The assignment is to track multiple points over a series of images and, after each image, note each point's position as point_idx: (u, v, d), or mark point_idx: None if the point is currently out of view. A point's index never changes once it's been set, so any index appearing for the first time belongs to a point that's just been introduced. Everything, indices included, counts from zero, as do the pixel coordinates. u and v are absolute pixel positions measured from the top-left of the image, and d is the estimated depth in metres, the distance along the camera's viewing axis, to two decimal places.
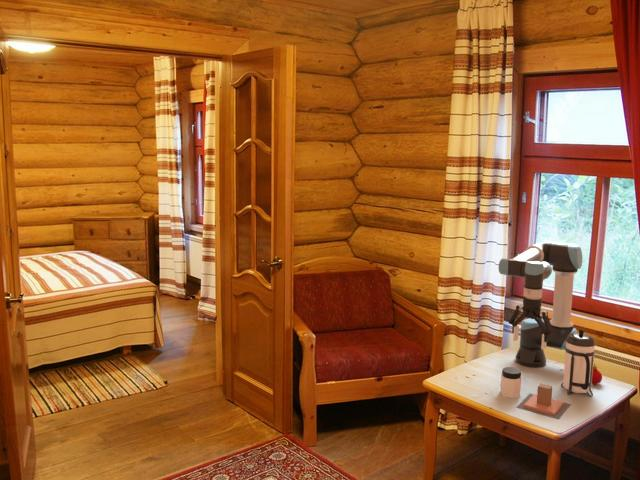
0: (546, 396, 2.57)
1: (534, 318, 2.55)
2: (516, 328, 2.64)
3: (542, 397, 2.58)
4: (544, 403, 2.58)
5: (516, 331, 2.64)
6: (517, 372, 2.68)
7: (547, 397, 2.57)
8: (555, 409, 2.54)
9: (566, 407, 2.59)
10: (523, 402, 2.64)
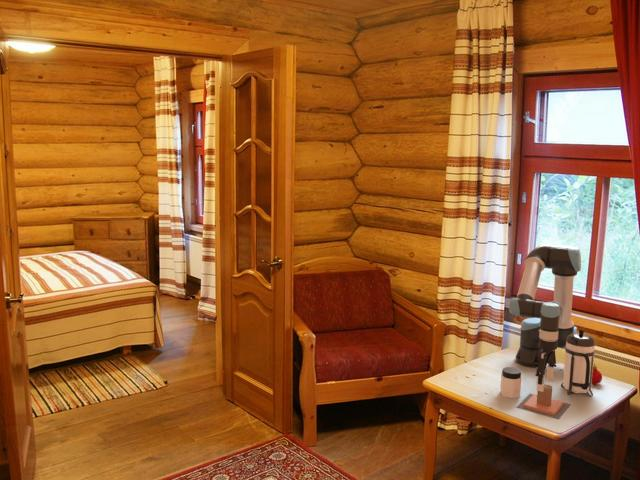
0: (546, 396, 2.57)
1: None
2: (549, 368, 2.63)
3: (542, 397, 2.58)
4: (544, 403, 2.58)
5: (549, 371, 2.63)
6: (517, 372, 2.68)
7: (547, 397, 2.57)
8: (555, 409, 2.54)
9: (566, 407, 2.59)
10: (523, 402, 2.64)
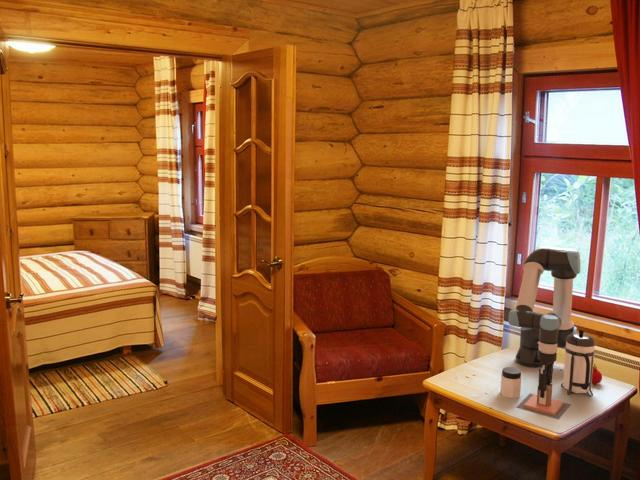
0: (546, 396, 2.57)
1: None
2: None
3: None
4: None
5: None
6: (517, 372, 2.68)
7: (547, 397, 2.57)
8: (555, 409, 2.54)
9: (566, 407, 2.59)
10: (523, 402, 2.64)
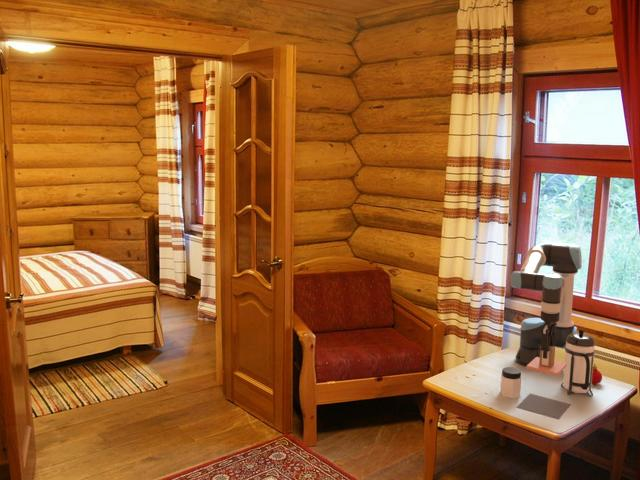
0: None
1: None
2: None
3: None
4: None
5: None
6: (517, 372, 2.68)
7: (550, 358, 2.54)
8: (558, 370, 2.51)
9: (566, 407, 2.59)
10: (523, 402, 2.64)
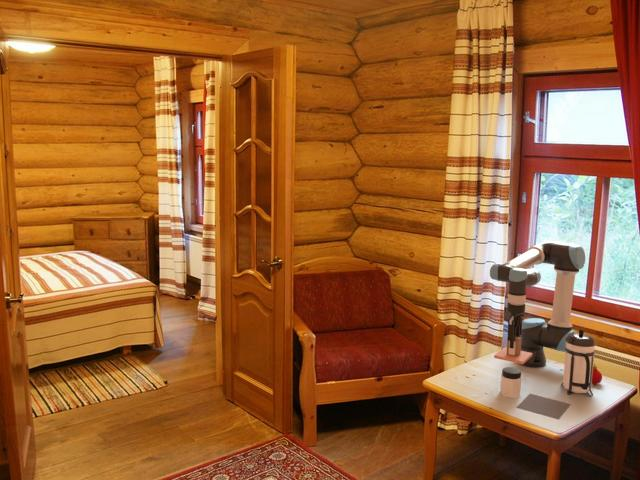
0: (515, 347, 2.66)
1: None
2: None
3: None
4: None
5: None
6: (517, 372, 2.68)
7: (516, 348, 2.65)
8: (524, 359, 2.63)
9: (566, 407, 2.59)
10: (523, 402, 2.64)
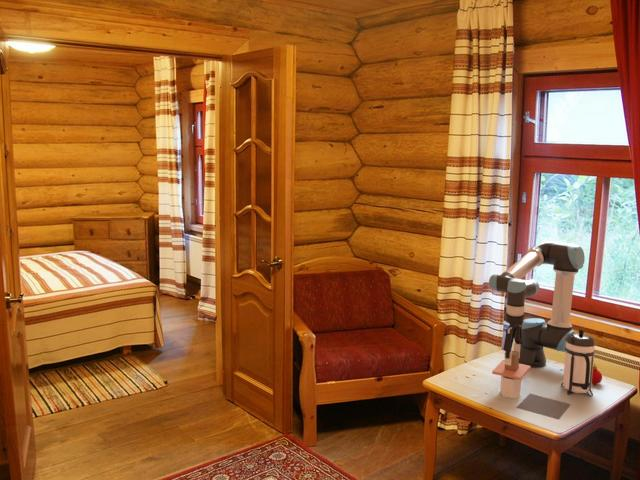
0: (512, 362, 2.67)
1: None
2: (515, 345, 2.73)
3: None
4: (511, 368, 2.68)
5: (515, 348, 2.73)
6: None
7: (514, 363, 2.67)
8: (522, 374, 2.64)
9: (566, 407, 2.59)
10: (523, 402, 2.64)
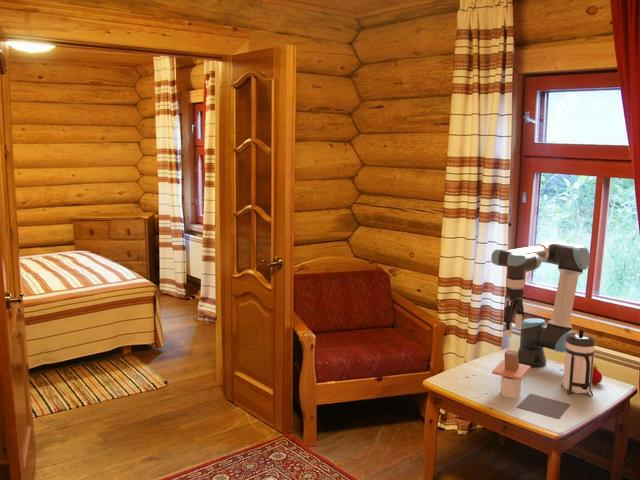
0: (512, 362, 2.67)
1: None
2: (517, 316, 2.77)
3: (509, 363, 2.68)
4: (511, 369, 2.68)
5: (517, 319, 2.77)
6: None
7: (514, 363, 2.67)
8: (522, 374, 2.64)
9: (566, 407, 2.59)
10: (523, 402, 2.64)
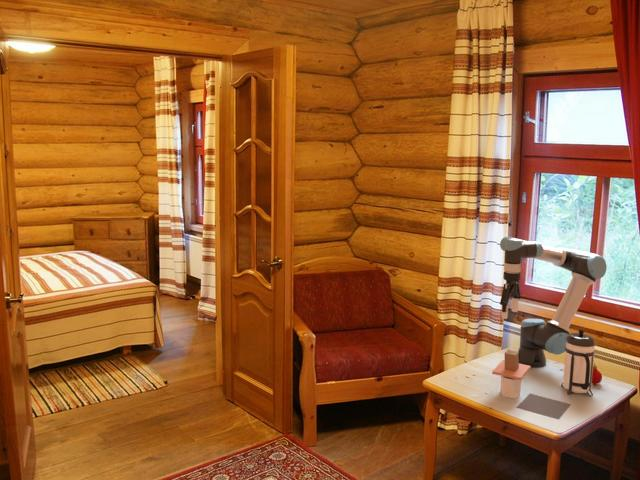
0: (512, 362, 2.67)
1: None
2: (513, 300, 2.88)
3: (509, 363, 2.68)
4: (511, 369, 2.68)
5: (514, 303, 2.88)
6: None
7: (514, 363, 2.66)
8: (522, 374, 2.64)
9: (566, 407, 2.59)
10: (523, 402, 2.64)
